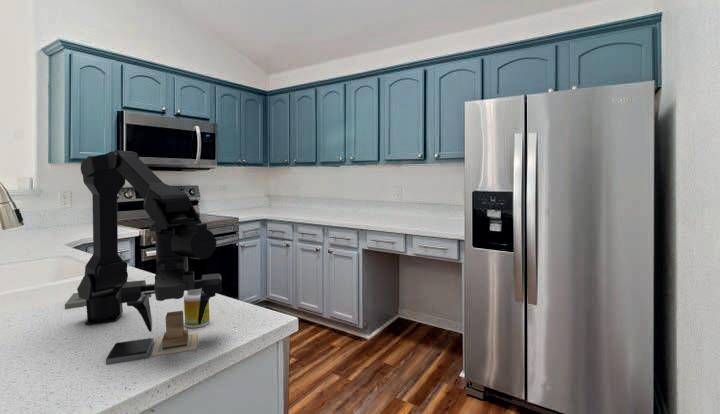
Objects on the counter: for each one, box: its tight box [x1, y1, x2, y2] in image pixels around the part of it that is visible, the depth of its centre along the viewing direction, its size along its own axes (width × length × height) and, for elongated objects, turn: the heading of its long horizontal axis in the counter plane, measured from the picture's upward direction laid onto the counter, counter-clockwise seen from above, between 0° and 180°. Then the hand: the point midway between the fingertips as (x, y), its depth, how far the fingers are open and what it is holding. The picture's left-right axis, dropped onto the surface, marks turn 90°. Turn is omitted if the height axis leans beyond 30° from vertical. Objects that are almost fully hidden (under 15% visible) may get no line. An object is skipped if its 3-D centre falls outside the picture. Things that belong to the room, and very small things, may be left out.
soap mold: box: [64, 283, 152, 310], centre depth 108 cm, size 10×20×4 cm, turn 118°
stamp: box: [162, 310, 189, 350], centre depth 78 cm, size 4×4×6 cm
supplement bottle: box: [183, 289, 210, 329], centre depth 89 cm, size 5×5×10 cm
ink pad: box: [105, 337, 155, 365], centre depth 75 cm, size 7×7×1 cm
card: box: [151, 332, 199, 357], centre depth 79 cm, size 8×8×1 cm
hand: (175, 327), depth 78 cm, fingers open, 9 cm apart
